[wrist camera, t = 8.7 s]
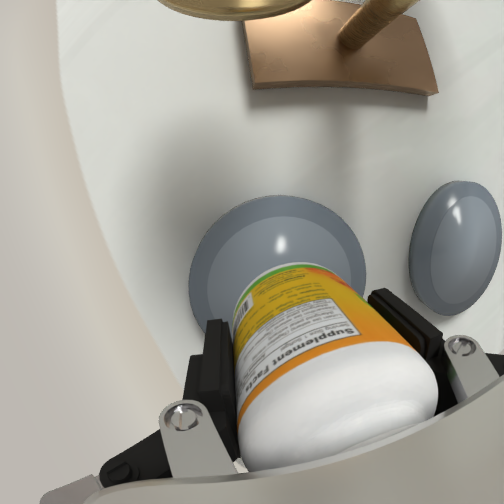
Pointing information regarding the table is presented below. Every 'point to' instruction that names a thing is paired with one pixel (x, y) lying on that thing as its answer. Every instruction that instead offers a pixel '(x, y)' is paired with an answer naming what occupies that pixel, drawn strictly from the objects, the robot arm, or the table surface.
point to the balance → (326, 42)
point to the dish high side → (455, 247)
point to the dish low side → (268, 251)
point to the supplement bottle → (319, 370)
